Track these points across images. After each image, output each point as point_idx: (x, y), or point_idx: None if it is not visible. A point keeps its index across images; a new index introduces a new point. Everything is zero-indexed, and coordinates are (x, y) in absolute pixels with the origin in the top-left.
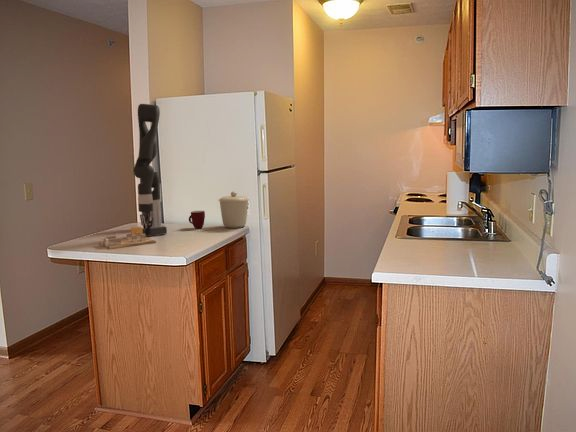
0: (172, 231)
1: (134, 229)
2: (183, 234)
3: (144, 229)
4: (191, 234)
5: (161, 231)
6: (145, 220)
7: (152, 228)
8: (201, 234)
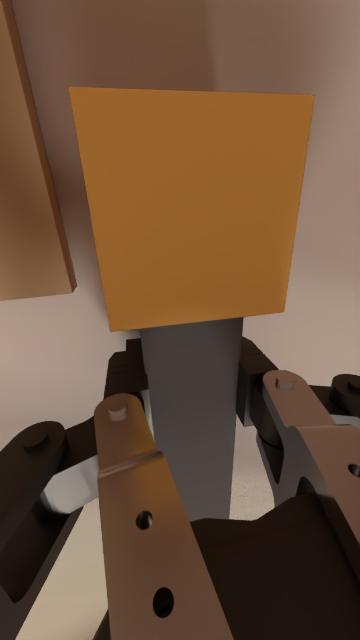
0: (255, 512)
1: (76, 114)
2: (94, 560)
3: (149, 354)
4: (64, 593)
5: None
6: (113, 593)
7: (166, 455)
8: (31, 630)
